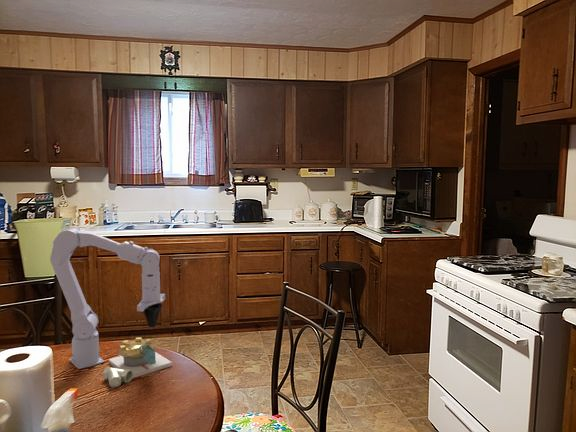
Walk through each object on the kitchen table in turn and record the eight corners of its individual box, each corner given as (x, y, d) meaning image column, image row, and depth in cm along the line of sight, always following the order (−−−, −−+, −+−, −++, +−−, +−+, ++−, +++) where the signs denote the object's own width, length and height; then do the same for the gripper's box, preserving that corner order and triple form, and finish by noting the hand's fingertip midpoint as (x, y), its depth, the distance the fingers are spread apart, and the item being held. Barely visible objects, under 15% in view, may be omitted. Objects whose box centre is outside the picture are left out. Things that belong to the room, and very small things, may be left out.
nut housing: (108, 362, 147) (108, 350, 147) (149, 351, 157) (149, 339, 156) (129, 379, 135) (128, 365, 135) (171, 365, 145) (171, 353, 144)
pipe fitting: (118, 391, 129) (133, 379, 135) (117, 379, 128) (132, 367, 135) (95, 387, 132) (111, 376, 138) (94, 375, 131) (109, 364, 137)
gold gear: (115, 350, 146) (115, 338, 145) (145, 343, 152) (145, 331, 152) (136, 369, 132) (136, 355, 131) (168, 360, 138) (168, 347, 138)
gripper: (150, 292, 142) (151, 334, 143) (172, 282, 156) (173, 320, 157) (130, 291, 144) (131, 333, 145) (154, 280, 158) (155, 318, 159)
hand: (152, 326), depth 151 cm, fingers closed
